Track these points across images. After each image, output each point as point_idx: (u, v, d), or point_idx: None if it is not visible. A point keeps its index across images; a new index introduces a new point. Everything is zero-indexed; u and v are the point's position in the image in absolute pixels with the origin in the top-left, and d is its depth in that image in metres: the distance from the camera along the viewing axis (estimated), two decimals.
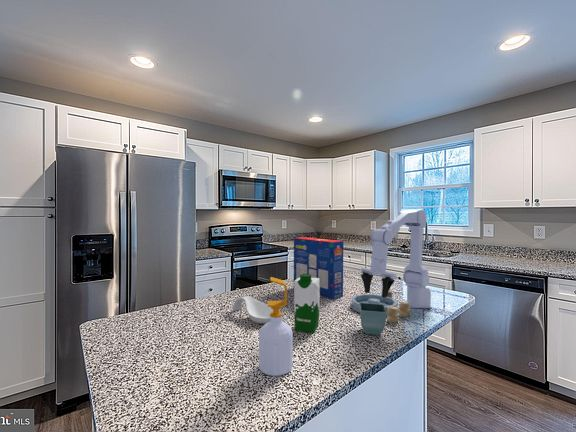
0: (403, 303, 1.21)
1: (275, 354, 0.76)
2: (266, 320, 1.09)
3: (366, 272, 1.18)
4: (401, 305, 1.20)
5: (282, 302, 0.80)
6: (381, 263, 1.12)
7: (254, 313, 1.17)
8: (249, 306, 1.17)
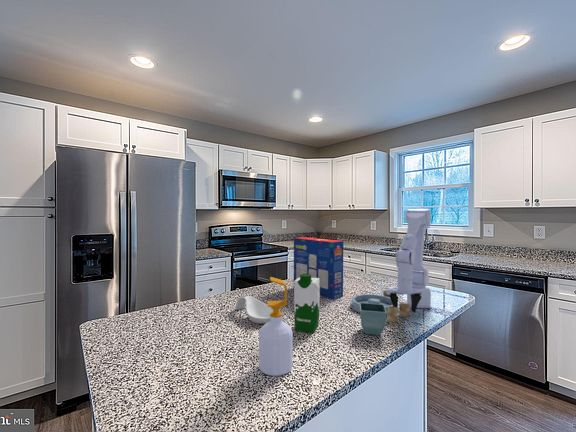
0: (403, 303, 1.21)
1: (275, 354, 0.76)
2: (263, 320, 1.09)
3: (393, 292, 1.20)
4: (401, 305, 1.20)
5: (282, 302, 0.80)
6: (412, 282, 1.19)
7: (254, 313, 1.17)
8: (249, 306, 1.18)
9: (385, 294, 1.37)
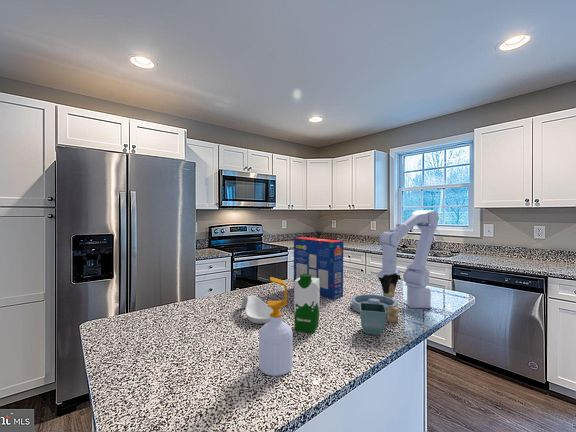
0: None
1: (275, 354, 0.76)
2: (259, 320, 1.09)
3: (383, 275, 1.21)
4: None
5: (282, 302, 0.80)
6: None
7: (254, 313, 1.17)
8: (250, 305, 1.19)
9: None
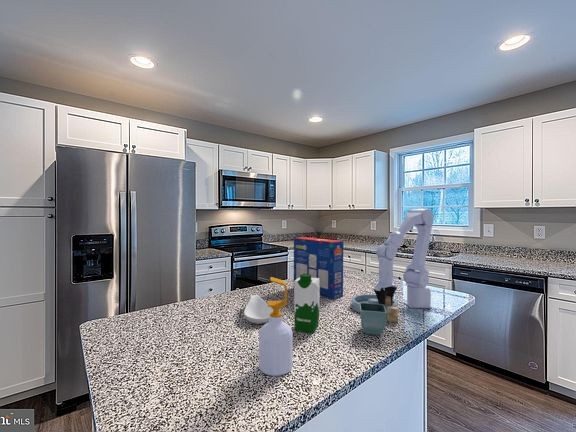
0: None
1: (275, 354, 0.76)
2: (255, 320, 1.09)
3: None
4: (386, 299, 1.24)
5: (282, 302, 0.80)
6: None
7: (254, 312, 1.18)
8: (252, 304, 1.20)
9: None
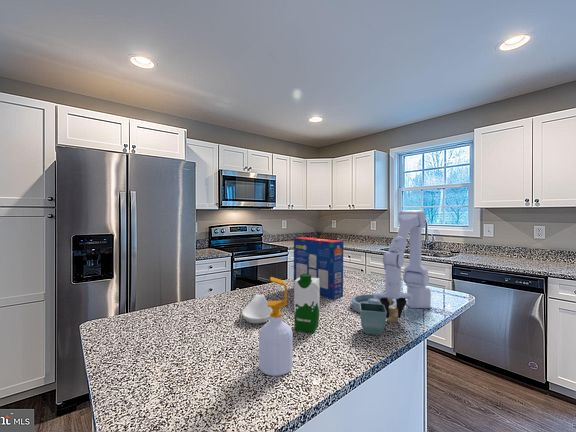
0: None
1: (275, 354, 0.76)
2: (249, 320, 1.09)
3: (380, 297, 1.14)
4: None
5: (282, 302, 0.80)
6: (400, 286, 1.13)
7: (255, 312, 1.19)
8: (254, 304, 1.21)
9: None
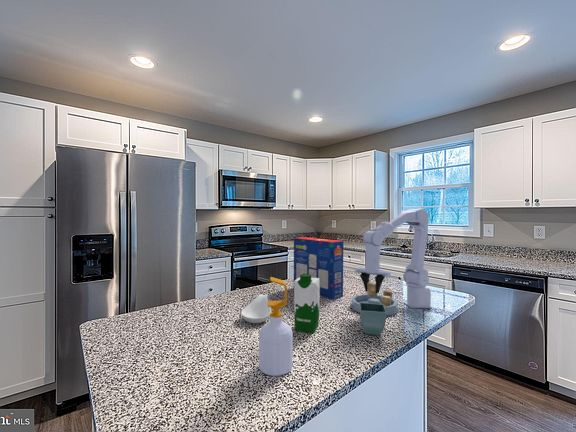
0: (385, 297, 1.25)
1: (275, 354, 0.76)
2: (246, 319, 1.10)
3: (361, 271, 1.26)
4: (386, 299, 1.24)
5: (282, 302, 0.80)
6: (376, 263, 1.21)
7: (256, 312, 1.19)
8: (255, 303, 1.21)
9: (385, 294, 1.37)
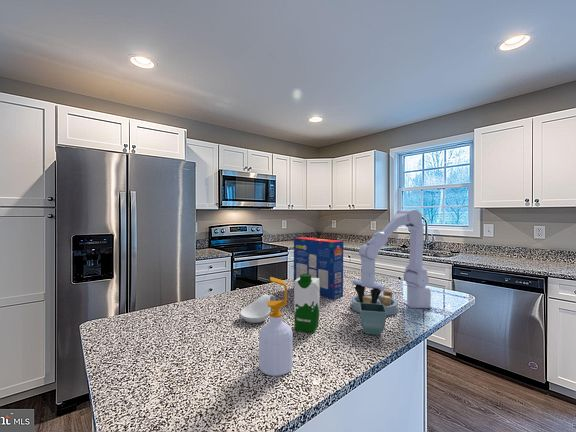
0: (385, 297, 1.25)
1: (275, 354, 0.76)
2: (243, 318, 1.11)
3: (357, 284, 1.29)
4: (386, 299, 1.24)
5: (282, 302, 0.80)
6: (370, 277, 1.23)
7: (257, 311, 1.19)
8: (257, 303, 1.21)
9: (385, 294, 1.37)
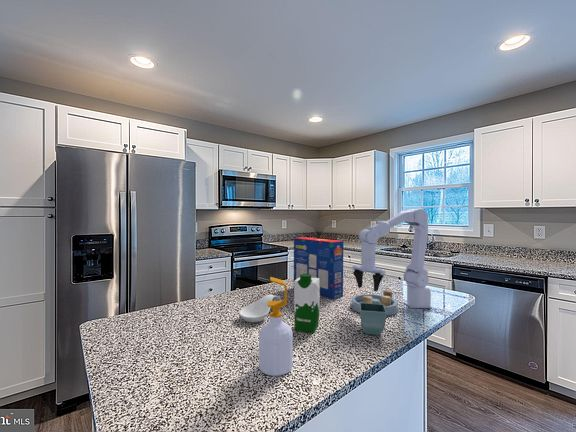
0: (385, 297, 1.25)
1: (275, 354, 0.76)
2: (241, 317, 1.12)
3: (357, 269, 1.29)
4: (386, 299, 1.24)
5: (282, 302, 0.80)
6: (370, 261, 1.23)
7: (258, 311, 1.19)
8: (260, 303, 1.22)
9: (385, 294, 1.37)
